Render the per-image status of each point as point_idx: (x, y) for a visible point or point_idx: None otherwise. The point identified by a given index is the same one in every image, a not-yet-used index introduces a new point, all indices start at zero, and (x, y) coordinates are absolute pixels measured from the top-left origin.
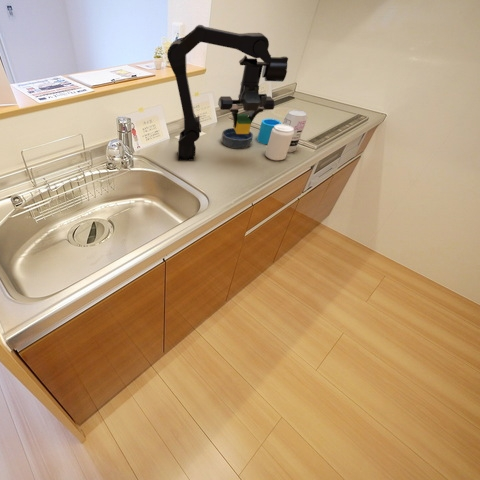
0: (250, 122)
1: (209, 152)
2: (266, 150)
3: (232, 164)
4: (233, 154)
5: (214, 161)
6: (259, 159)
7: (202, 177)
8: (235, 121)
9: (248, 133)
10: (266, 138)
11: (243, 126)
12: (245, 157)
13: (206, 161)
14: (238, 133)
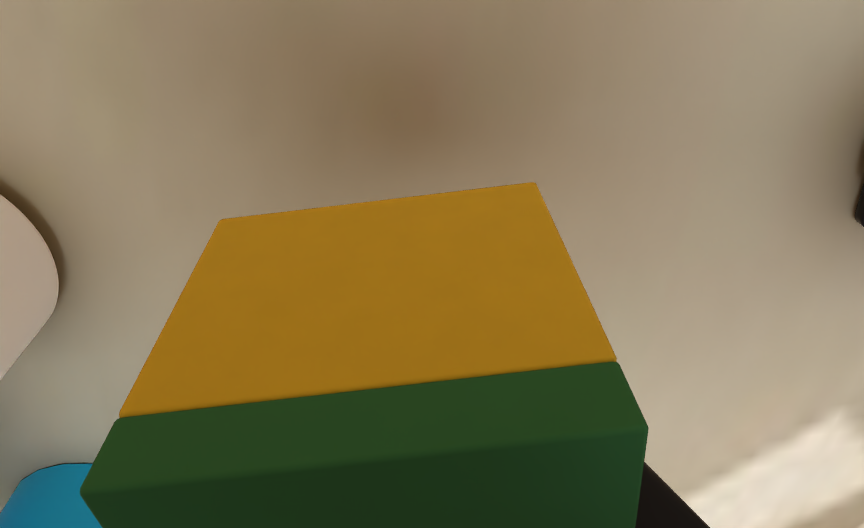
0: (133, 452)
1: (657, 260)
2: (25, 287)
3: (438, 4)
4: None
5: (652, 60)
6: (111, 174)
7: None
8: (653, 513)
9: (227, 222)
10: (78, 512)
11: (397, 318)
12: (276, 201)
13: (751, 49)
14: (492, 191)
